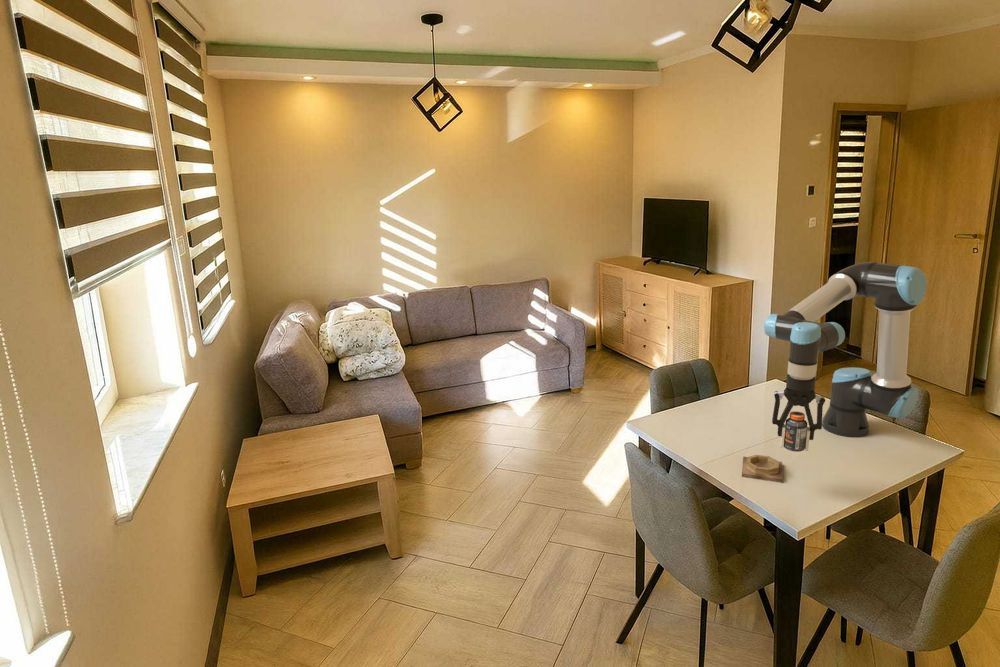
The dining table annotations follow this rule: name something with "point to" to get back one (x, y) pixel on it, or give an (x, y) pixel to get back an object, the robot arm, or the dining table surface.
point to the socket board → (762, 468)
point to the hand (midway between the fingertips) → (794, 447)
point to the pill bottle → (795, 432)
